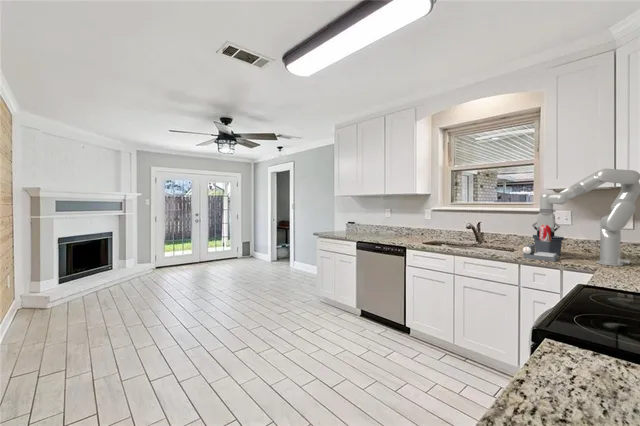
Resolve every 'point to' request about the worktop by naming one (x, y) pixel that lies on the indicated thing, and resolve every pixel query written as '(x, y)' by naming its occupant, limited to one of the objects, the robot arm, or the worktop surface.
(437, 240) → the worktop surface
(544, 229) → the soda can
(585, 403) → the worktop surface
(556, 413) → the worktop surface
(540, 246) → the storage bin
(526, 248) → the dial scale
